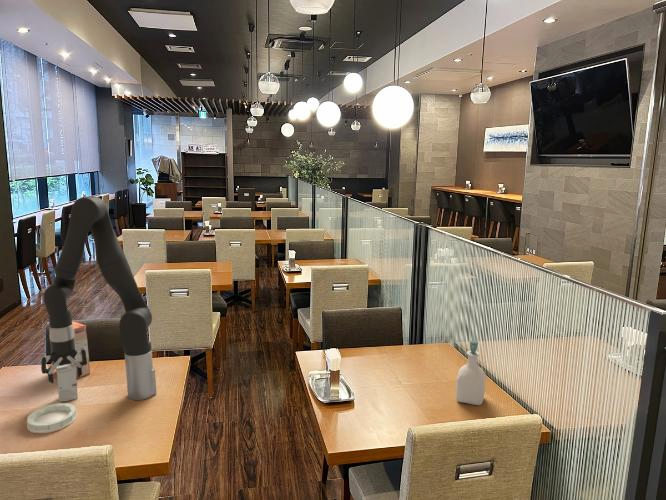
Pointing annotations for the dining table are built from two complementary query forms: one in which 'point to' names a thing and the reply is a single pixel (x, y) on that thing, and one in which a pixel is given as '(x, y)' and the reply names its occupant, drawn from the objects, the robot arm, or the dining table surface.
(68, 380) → the skincare box
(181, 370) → the dining table surface
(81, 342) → the cracker box
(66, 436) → the dining table surface
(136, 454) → the dining table surface
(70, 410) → the dish
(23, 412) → the dining table surface
